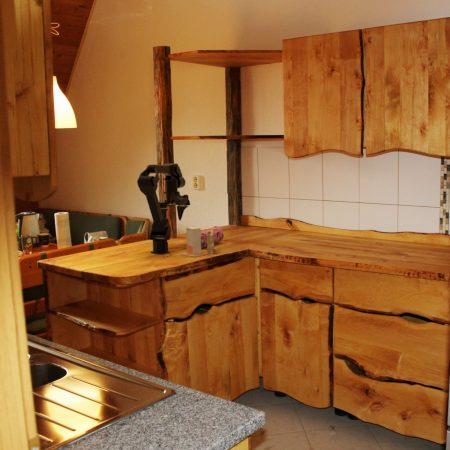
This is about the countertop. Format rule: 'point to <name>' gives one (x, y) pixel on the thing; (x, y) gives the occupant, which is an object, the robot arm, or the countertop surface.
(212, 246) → the shallow wooden tray
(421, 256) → the countertop surface
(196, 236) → the skincare box
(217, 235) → the pencil case
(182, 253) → the tile
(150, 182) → the robot arm
